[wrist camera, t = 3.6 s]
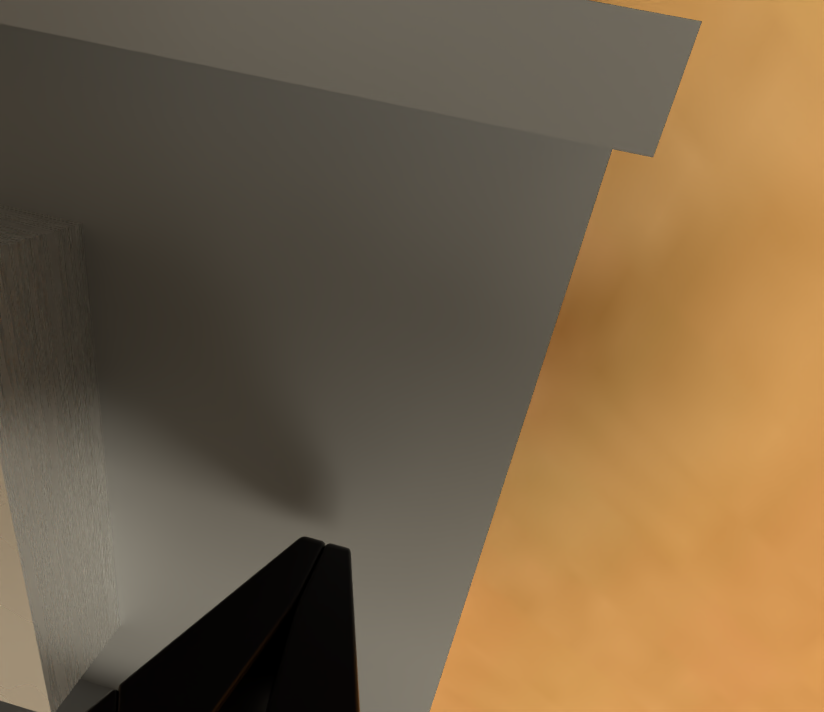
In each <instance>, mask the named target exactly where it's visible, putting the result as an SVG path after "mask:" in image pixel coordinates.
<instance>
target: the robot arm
mask: <svg viewBox="0 0 824 712" xmlns="http://www.w3.org/2000/svg"><path fill="white" fill-rule="evenodd" d="M86 712H360V703H359V685H358V668H357V650H356V632H355V615H354V597H353V580H352V562H351V551H350V549H349V548H347V547H343V546H339V545H336V544H332V543H328V544H327V545H325V543H324V542H323V541H321V540H317V539H314V538H310V537H306V536H303V537H300V538H299V539H297V540H296V541H295V542H294V543H292V544H291V545H290V546H289V547H288V548H286V549H285V550H284V551H283V552H281V553H280V554H279V555H278V556H277V557H275V558H274V559H273V560H272V561H270V562H269V563H268V564H267V565H265V566H264V567H263V568H262V569H261V570H259V571H258V572H257V573H256V574H254V575H253V576H252V577H251V578H249V579H248V580H247V581H246V582H245V583H243V584H242V585H241V586H240V587H238V588H237V589H236V590H235V591H233V592H232V593H231V594H230V595H229V596H227V597H226V598H225V599H224V600H222V601H221V602H220V603H219V604H218V605H216V606H215V607H214V608H213V609H211V610H210V611H209V612H208V613H206V614H205V615H204V616H203V617H202V618H200V619H199V620H198V621H197V622H195V623H194V624H193V625H192V626H190V627H189V628H188V629H187V630H186V631H184V632H183V633H182V634H181V635H179V636H178V637H177V638H176V639H174V640H173V641H172V642H171V643H170V644H168V645H167V646H166V647H165V648H163V649H162V650H161V651H160V652H158V653H157V654H156V655H155V656H154V657H152V658H151V659H150V660H149V661H147V662H146V663H145V664H144V665H143V666H141V667H140V668H139V669H138V670H136V671H135V672H134V673H133V674H131V675H130V676H129V677H128V678H127V679H125V680H124V681H123V682H122V683H120V684H119V686H118V690H117V689H113V690H111V691H110V692H109V693H108V694H106V695H105V696H104V697H103V698H102V699H100V700H99V701H98V702H97V703H95V704H94V705H93V706H92V707H91V708H89V709H88V710H87V711H86Z"/></svg>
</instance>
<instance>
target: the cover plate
mask: <svg viewBox="0 0 824 712" xmlns="http://www.w3.org/2000/svg"><path fill="white" fill-rule="evenodd" d="M119 626H120V616H119V605H118V594H117V583H116V573H115V562H114V551H113V541H112V530H111V519H110V509H109V498H108V487H107V477H106V466H105V455H104V445H103V434H102V423H101V413H100V402H99V391H98V381H97V370H96V359H95V349H94V338H93V327H92V317H91V306H90V295H89V284H88V274H87V263H86V252H85V242H84V231H83V223H80V222H76V221H71V220H67V219H63V218H58V217H54V216H50V215H46V214H41V213H37V212H33V211H28V210H24V209H20V208H15V207H11V206H7V205H2V204H0V701H3V702H7V703H10V704H13V705H16V706H20V707H23V708H26V709H29V710H33V711H36V712H55V711H56V710H57V709H58V707H59V706H60V705H61V703H62V702H63V701H64V699H65V698H66V697H67V695H68V694H69V693H70V691H71V690H72V689H73V687H74V686H75V685H76V683H77V682H78V681H79V679H80V678H81V677H82V675H83V674H84V673H85V671H86V670H87V669H88V667H89V666H90V665H91V663H92V662H93V661H94V660H95V658H96V657H97V656H98V654H99V653H100V652H101V650H102V649H103V648H104V646H105V645H106V644H107V642H108V641H109V640H110V638H111V637H112V636H113V634H114V633H115V632H116V630H117V629H118V628H119Z"/></svg>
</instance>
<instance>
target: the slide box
mask: <svg viewBox="0 0 824 712" xmlns="http://www.w3.org/2000/svg"><path fill="white" fill-rule="evenodd" d="M701 23H702V21H697V20H692V19H686V18H681V17H676V16H670V15H665V14H659V13H654V12H649V11H643V10H638V9H632V8H627V7H622V6H616V5H611V4H605V3H600V2H595V1H589V0H0V204H2V205H7V206H11V207H15V208H20V209H24V210H28V211H33V212H37V213H41V214H46V215H50V216H54V217H58V218H63V219H67V220H71V221H76V222H80V223H83V231H84V242H85V252H86V263H87V274H88V284H89V295H90V306H91V317H92V327H93V338H94V349H95V359H96V370H97V381H98V391H99V402H100V413H101V423H102V434H103V445H104V455H105V466H106V477H107V487H108V498H109V509H110V519H111V530H112V541H113V551H114V562H115V573H116V583H117V594H118V605H119V616H120V626H119V628H118V629H117V630H116V632H115V633H114V634H113V636H112V637H111V638H110V640H109V641H108V642H107V644H106V645H105V646H104V648H103V649H102V650H101V652H100V653H99V654H98V656H97V657H96V658H95V660H94V661H93V662H92V663H91V665H90V666H89V667H88V669H87V670H86V671H85V673H84V674H83V675H82V677H81V678H80V679H79V681H78V682H77V683H76V685H75V686H74V687H73V689H72V690H71V691H70V693H69V694H68V695H67V697H66V698H65V699H64V701H63V702H62V703H61V705H60V706H59V707H58V709H57V710H56V711H55V712H86V711H87V710H88V709H89V708H91V707H92V706H93V705H94V704H95V703H97V702H98V701H99V700H100V699H102V698H103V697H104V696H105V695H106V694H108V693H109V692H110V691H111V690H113V689H117V690H118V686H119V684H120V683H122V682H123V681H124V680H125V679H127V678H128V677H129V676H130V675H131V674H133V673H134V672H135V671H136V670H138V669H139V668H140V667H141V666H143V665H144V664H145V663H146V662H147V661H149V660H150V659H151V658H152V657H154V656H155V655H156V654H157V653H158V652H160V651H161V650H162V649H163V648H165V647H166V646H167V645H168V644H170V643H171V642H172V641H173V640H174V639H176V638H177V637H178V636H179V635H181V634H182V633H183V632H184V631H186V630H187V629H188V628H189V627H190V626H192V625H193V624H194V623H195V622H197V621H198V620H199V619H200V618H202V617H203V616H204V615H205V614H206V613H208V612H209V611H210V610H211V609H213V608H214V607H215V606H216V605H218V604H219V603H220V602H221V601H222V600H224V599H225V598H226V597H227V596H229V595H230V594H231V593H232V592H233V591H235V590H236V589H237V588H238V587H240V586H241V585H242V584H243V583H245V582H246V581H247V580H248V579H249V578H251V577H252V576H253V575H254V574H256V573H257V572H258V571H259V570H261V569H262V568H263V567H264V566H265V565H267V564H268V563H269V562H270V561H272V560H273V559H274V558H275V557H277V556H278V555H279V554H280V553H281V552H283V551H284V550H285V549H286V548H288V547H289V546H290V545H291V544H292V543H294V542H295V541H296V540H297V539H299V538H300V537H303V536H306V537H310V538H314V539H317V540H321V541H323V542H324V543H325V545H327V544H328V543H332V544H336V545H339V546H343V547H347V548H349V549H350V551H351V562H352V580H353V597H354V615H355V632H356V650H357V668H358V685H359V703H360V712H430V708H431V705H432V702H433V699H434V696H435V693H436V690H437V687H438V684H439V681H440V678H441V675H442V672H443V668H444V665H445V662H446V659H447V656H448V653H449V650H450V647H451V644H452V641H453V638H454V635H455V632H456V628H457V625H458V622H459V619H460V616H461V613H462V610H463V607H464V604H465V601H466V598H467V595H468V592H469V588H470V585H471V582H472V579H473V576H474V573H475V570H476V567H477V564H478V561H479V558H480V555H481V552H482V548H483V545H484V542H485V539H486V536H487V533H488V530H489V527H490V524H491V521H492V518H493V515H494V512H495V508H496V505H497V502H498V499H499V496H500V493H501V490H502V487H503V484H504V481H505V478H506V475H507V472H508V468H509V465H510V462H511V459H512V456H513V453H514V450H515V447H516V444H517V441H518V438H519V435H520V432H521V428H522V425H523V422H524V419H525V416H526V413H527V410H528V407H529V404H530V401H531V398H532V395H533V392H534V388H535V385H536V382H537V379H538V376H539V373H540V370H541V367H542V364H543V361H544V358H545V355H546V352H547V348H548V345H549V342H550V339H551V336H552V333H553V330H554V327H555V324H556V321H557V318H558V315H559V312H560V308H561V305H562V302H563V299H564V296H565V293H566V290H567V287H568V284H569V281H570V278H571V275H572V272H573V268H574V265H575V262H576V259H577V256H578V253H579V250H580V247H581V244H582V241H583V238H584V235H585V232H586V228H587V225H588V222H589V219H590V216H591V213H592V210H593V207H594V204H595V201H596V198H597V195H598V192H599V188H600V185H601V182H602V179H603V176H604V173H605V170H606V167H607V164H608V161H609V158H610V155H611V152H612V149H615V150H620V151H624V152H629V153H634V154H639V155H644V156H649V157H653V156H654V153H655V151H656V148H657V145H658V142H659V140H660V137H661V134H662V131H663V128H664V126H665V123H666V120H667V117H668V114H669V112H670V109H671V106H672V103H673V101H674V98H675V95H676V92H677V89H678V87H679V84H680V81H681V78H682V76H683V73H684V70H685V67H686V64H687V62H688V59H689V56H690V53H691V50H692V48H693V45H694V42H695V39H696V37H697V34H698V31H699V28H700V25H701ZM0 712H36V711H33V710H29V709H26V708H23V707H20V706H16V705H13V704H10V703H7V702H3V701H0Z"/></svg>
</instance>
